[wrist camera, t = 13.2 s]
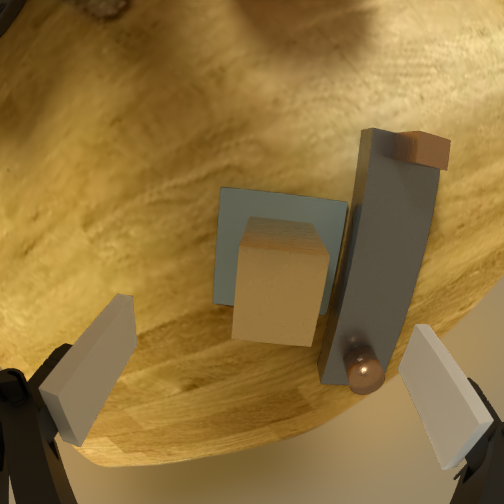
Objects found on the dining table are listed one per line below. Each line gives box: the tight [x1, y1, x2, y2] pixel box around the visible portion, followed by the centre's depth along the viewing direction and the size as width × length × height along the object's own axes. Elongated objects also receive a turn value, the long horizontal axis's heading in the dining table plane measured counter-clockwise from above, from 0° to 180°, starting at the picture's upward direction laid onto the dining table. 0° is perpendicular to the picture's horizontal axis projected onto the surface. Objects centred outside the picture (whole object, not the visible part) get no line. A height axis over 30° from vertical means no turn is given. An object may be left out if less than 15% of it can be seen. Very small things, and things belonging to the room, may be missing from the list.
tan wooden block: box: [231, 216, 330, 347], centre depth 22 cm, size 6×5×8 cm
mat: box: [213, 187, 348, 315], centre depth 26 cm, size 10×10×1 cm
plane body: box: [317, 128, 451, 395], centre depth 23 cm, size 22×6×7 cm, turn 174°
